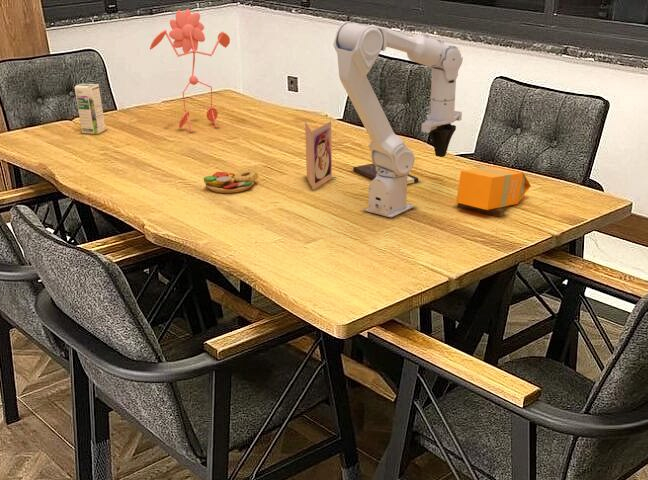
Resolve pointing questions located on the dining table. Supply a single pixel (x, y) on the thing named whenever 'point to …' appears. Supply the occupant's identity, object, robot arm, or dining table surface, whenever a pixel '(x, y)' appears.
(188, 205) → the dining table surface
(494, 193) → the orange juice
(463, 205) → the walnut batten
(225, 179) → the toy food set
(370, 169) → the chocolate bar
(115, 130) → the dining table surface
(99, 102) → the syrup box
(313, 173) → the greeting card
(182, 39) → the figurine
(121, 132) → the dining table surface
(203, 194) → the dining table surface
